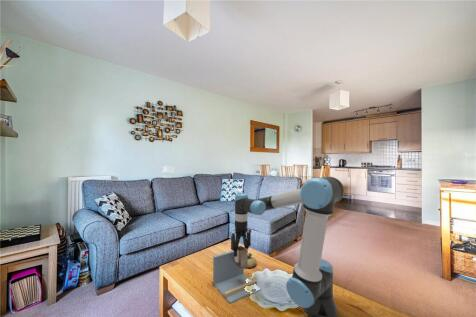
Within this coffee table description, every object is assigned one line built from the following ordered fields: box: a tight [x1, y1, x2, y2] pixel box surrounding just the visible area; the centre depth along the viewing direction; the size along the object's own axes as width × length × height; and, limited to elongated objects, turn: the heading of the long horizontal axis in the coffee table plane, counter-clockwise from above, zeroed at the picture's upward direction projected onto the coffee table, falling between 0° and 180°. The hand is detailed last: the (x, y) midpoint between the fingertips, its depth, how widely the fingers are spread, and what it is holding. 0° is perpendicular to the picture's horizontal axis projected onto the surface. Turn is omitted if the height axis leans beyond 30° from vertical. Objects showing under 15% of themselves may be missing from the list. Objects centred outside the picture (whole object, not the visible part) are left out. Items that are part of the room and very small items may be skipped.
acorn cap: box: [244, 252, 258, 269], centre depth 135 cm, size 10×11×10 cm
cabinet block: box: [234, 245, 249, 268], centre depth 114 cm, size 7×5×10 cm
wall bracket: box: [212, 250, 257, 304], centre depth 111 cm, size 20×20×16 cm
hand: (240, 260), depth 114 cm, fingers closed on cabinet block, 5 cm apart
